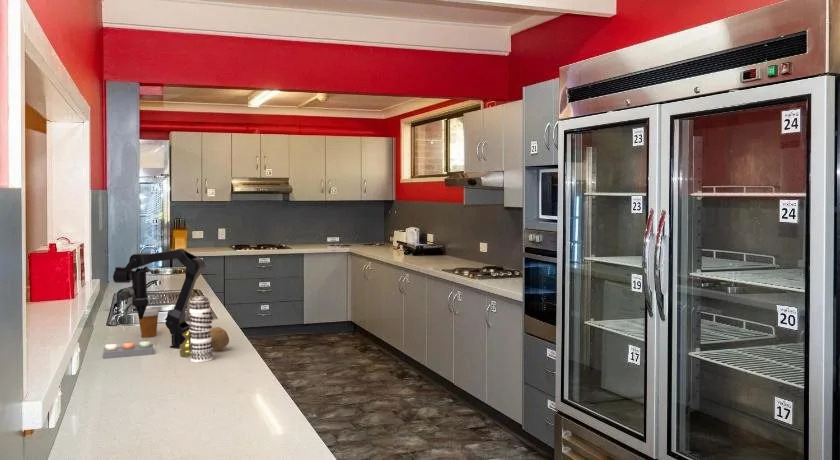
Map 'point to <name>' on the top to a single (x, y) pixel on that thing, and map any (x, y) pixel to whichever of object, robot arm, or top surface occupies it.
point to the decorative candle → (200, 329)
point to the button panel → (128, 352)
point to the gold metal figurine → (186, 345)
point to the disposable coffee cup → (149, 323)
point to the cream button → (111, 346)
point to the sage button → (145, 344)
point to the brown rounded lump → (219, 338)
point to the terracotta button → (128, 345)
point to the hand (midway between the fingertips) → (140, 319)
